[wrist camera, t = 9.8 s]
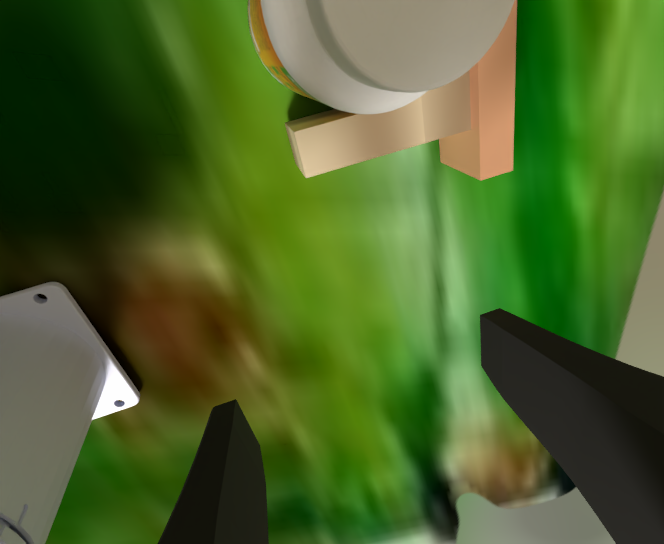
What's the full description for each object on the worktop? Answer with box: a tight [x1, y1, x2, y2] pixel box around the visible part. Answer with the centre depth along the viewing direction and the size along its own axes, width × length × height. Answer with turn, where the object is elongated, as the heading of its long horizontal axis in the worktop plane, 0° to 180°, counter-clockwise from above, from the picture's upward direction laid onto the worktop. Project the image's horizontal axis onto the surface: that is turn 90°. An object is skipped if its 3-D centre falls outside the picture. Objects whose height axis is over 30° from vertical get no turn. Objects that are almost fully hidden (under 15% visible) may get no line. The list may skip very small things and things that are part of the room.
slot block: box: [285, 70, 471, 178], centre depth 14 cm, size 7×10×3 cm
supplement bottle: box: [248, 0, 515, 114], centre depth 11 cm, size 5×5×10 cm
